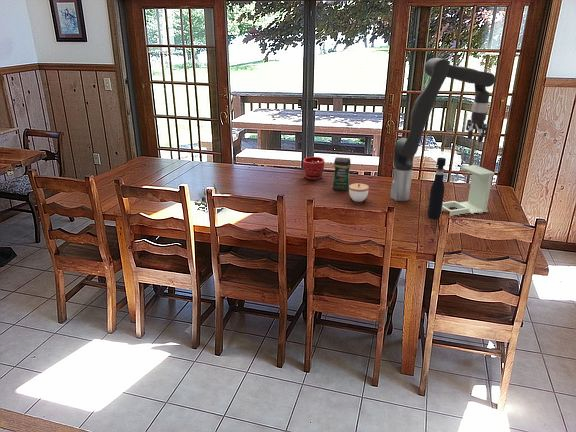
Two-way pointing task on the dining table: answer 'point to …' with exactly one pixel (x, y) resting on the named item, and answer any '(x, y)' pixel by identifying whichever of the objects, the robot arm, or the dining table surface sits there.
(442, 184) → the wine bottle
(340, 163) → the coffee jar
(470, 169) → the sage socket stand
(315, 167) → the plant pot
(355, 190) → the lidded jar
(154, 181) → the dining table surface
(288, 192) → the dining table surface
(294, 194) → the dining table surface
